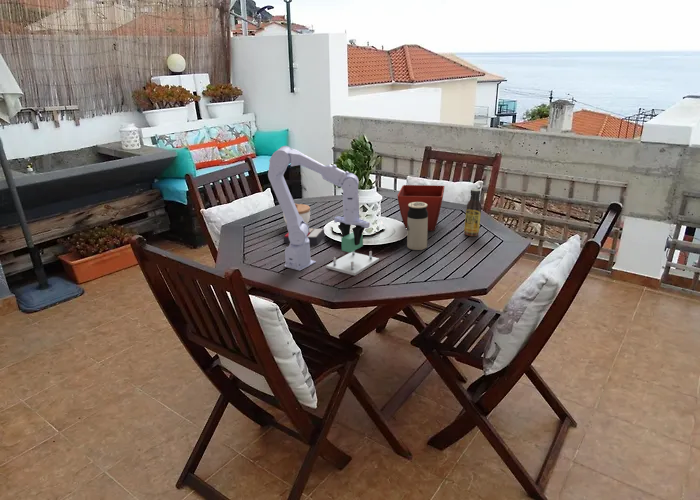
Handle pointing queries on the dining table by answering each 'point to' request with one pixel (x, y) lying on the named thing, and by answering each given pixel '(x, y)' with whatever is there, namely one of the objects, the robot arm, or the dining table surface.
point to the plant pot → (421, 194)
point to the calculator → (310, 236)
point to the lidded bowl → (302, 212)
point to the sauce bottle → (473, 214)
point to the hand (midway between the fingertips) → (352, 243)
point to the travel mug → (417, 226)
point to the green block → (350, 243)
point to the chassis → (352, 263)
